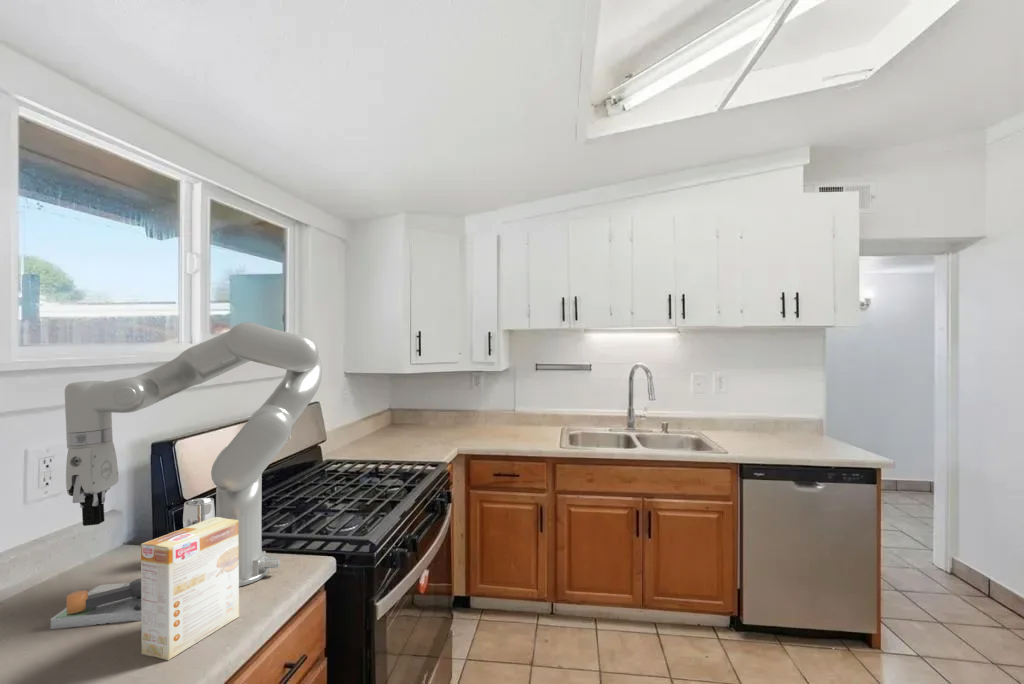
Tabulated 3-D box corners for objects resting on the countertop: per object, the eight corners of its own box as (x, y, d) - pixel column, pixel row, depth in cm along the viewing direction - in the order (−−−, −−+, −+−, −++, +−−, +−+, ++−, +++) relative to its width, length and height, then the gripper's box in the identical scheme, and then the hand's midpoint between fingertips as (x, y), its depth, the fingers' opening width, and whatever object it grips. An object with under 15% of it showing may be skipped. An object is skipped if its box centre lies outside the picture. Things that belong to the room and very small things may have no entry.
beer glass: (220, 556, 129) (220, 499, 130) (194, 567, 123) (194, 506, 123) (203, 552, 132) (203, 496, 133) (176, 562, 126) (176, 503, 126)
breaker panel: (177, 587, 112) (177, 577, 112) (142, 620, 98) (142, 608, 98) (97, 594, 109) (97, 584, 109) (50, 629, 96) (50, 617, 96)
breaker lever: (149, 587, 107) (150, 573, 107) (151, 593, 104) (151, 578, 104) (66, 608, 98) (66, 593, 99) (66, 615, 96) (66, 600, 96)
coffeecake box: (213, 611, 101) (213, 516, 102) (240, 617, 99) (240, 519, 100) (138, 654, 87) (138, 542, 87) (168, 661, 85) (168, 547, 85)
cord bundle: (192, 583, 114) (192, 569, 114) (153, 622, 97) (153, 606, 97) (172, 585, 113) (172, 571, 113) (129, 625, 97) (129, 608, 97)
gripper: (87, 443, 100) (91, 534, 100) (129, 431, 114) (132, 510, 114) (44, 446, 98) (48, 539, 98) (92, 434, 113) (95, 514, 113)
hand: (93, 523), depth 106 cm, fingers closed
